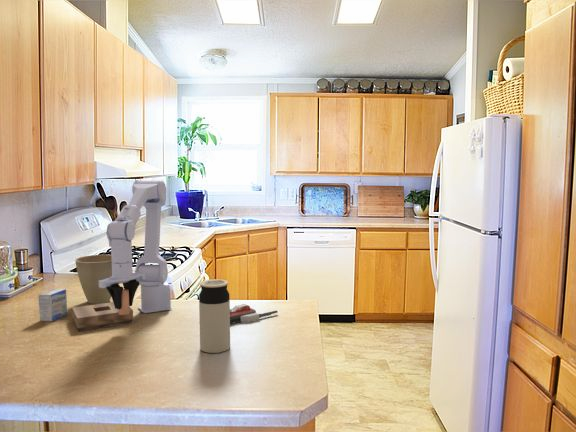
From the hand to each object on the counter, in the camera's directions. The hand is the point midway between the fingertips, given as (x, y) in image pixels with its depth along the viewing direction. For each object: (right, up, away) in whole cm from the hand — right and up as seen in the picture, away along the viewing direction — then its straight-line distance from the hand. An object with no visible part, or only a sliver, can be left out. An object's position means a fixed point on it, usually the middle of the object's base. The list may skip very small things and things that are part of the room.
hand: (123, 307), depth 144 cm
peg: (0, -2, 0) cm, 2 cm away
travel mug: (+29, -9, -14) cm, 33 cm away
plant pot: (-20, -4, +33) cm, 39 cm away
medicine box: (-27, -6, +14) cm, 31 cm away
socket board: (-10, -6, +10) cm, 15 cm away
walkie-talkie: (+35, -7, +13) cm, 38 cm away
